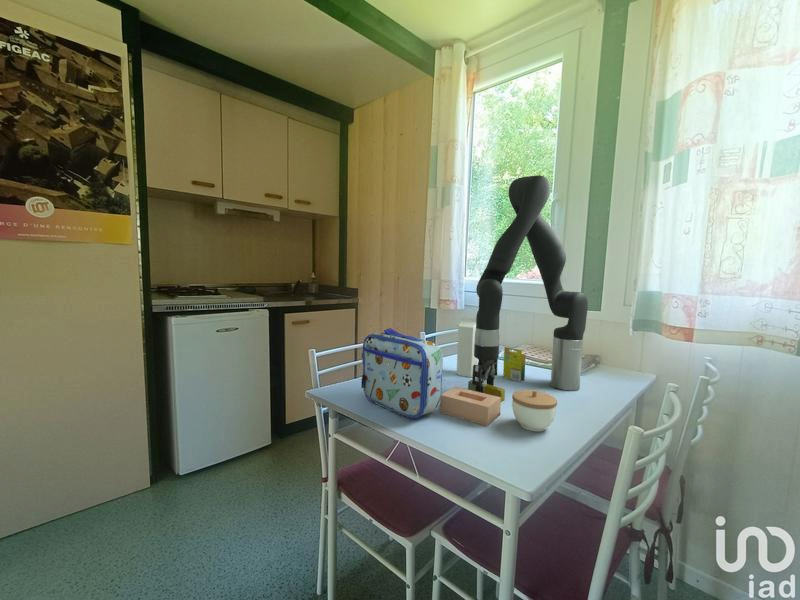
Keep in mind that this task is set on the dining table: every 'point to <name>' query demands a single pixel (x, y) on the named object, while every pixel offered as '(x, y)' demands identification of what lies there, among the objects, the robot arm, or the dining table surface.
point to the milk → (466, 347)
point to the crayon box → (514, 364)
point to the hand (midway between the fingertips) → (484, 393)
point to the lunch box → (402, 373)
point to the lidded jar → (534, 409)
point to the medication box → (489, 390)
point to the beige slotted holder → (470, 405)
